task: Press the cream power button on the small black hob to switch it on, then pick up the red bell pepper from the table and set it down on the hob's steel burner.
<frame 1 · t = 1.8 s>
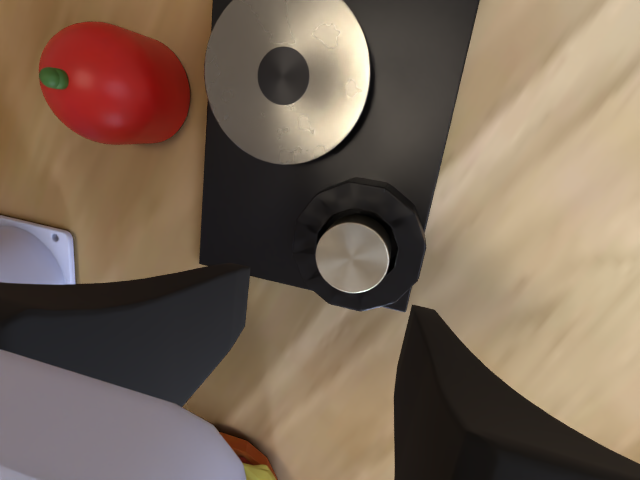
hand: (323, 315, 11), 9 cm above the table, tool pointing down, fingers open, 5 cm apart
pepper: (145, 92, 21), on the table
cheeseburger: (232, 477, 27), on the table
hob button: (354, 252, 17), point 3 cm above the table, slide at 0.1 cm
hob: (320, 139, 19), on the table
burner: (285, 77, 17), resting on hob
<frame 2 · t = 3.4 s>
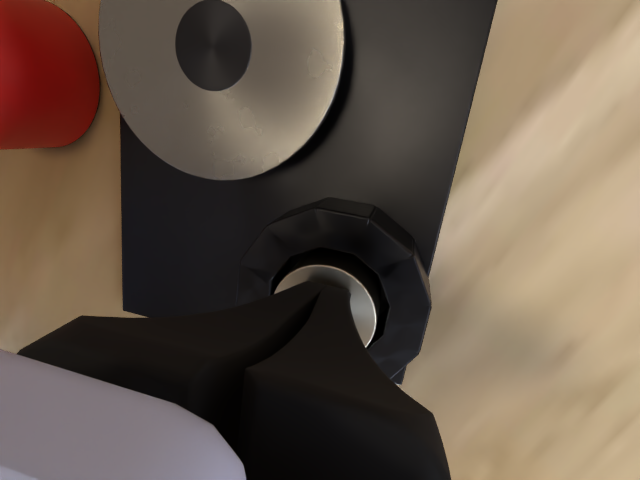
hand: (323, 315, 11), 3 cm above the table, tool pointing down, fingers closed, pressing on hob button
pepper: (41, 76, 15), on the table
hob button: (328, 303, 12), point 2 cm above the table, slide at -0.6 cm, touching gripper
hob: (279, 142, 14), on the table
burner: (217, 48, 11), resting on hob
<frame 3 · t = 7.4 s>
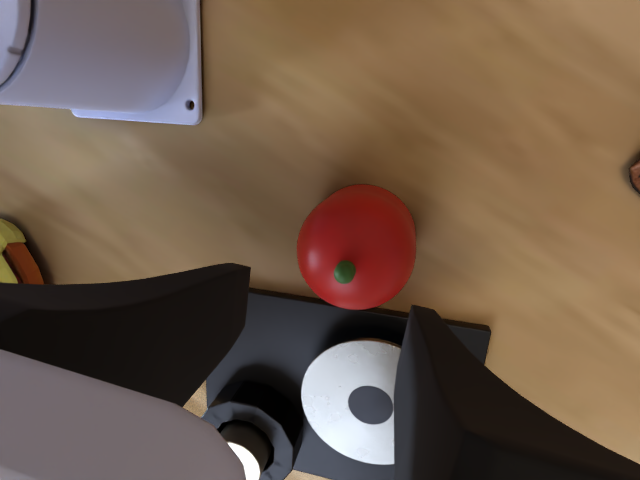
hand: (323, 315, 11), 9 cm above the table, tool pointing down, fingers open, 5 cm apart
pepper: (362, 235, 20), on the table
cheeseburger: (6, 286, 27), on the table
hob button: (239, 453, 22), point 3 cm above the table, slide at 0.1 cm
hob: (330, 391, 23), on the table
burner: (371, 401, 20), resting on hob
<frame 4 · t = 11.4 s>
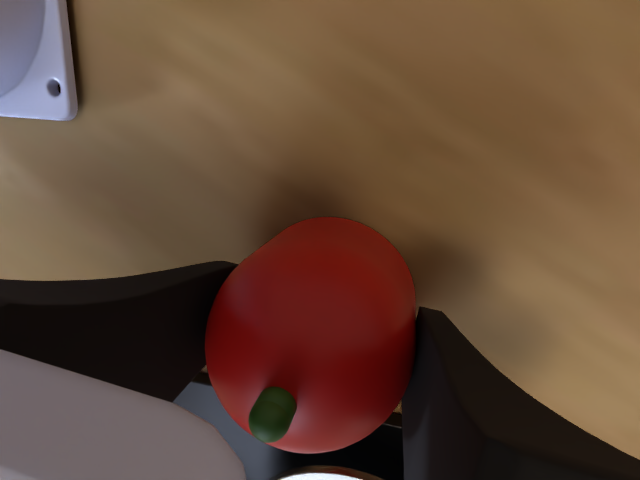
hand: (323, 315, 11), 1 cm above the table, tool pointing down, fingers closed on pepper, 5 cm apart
pepper: (331, 296, 13), on the table, touching gripper
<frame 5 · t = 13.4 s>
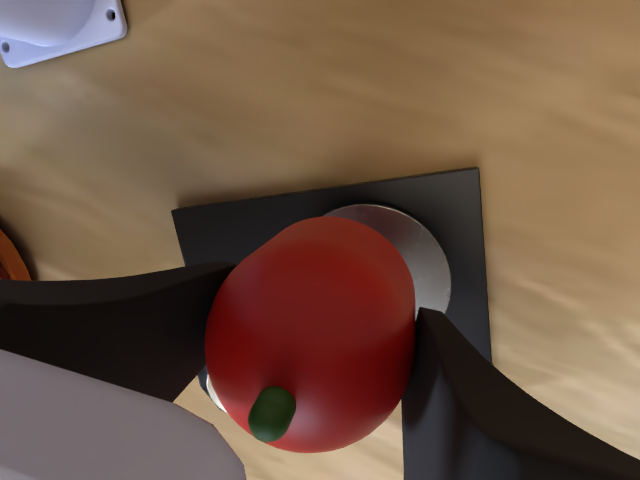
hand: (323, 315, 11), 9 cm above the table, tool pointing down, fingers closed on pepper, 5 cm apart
pepper: (331, 295, 13), point 8 cm above the table, touching gripper
hob button: (242, 379, 20), point 3 cm above the table, slide at 0.1 cm
hob: (329, 297, 21), on the table
burner: (366, 282, 18), resting on hob
when the fingers open (4 cm above the table, at t = 15.6 s): pepper stays where it is, resting on burner.
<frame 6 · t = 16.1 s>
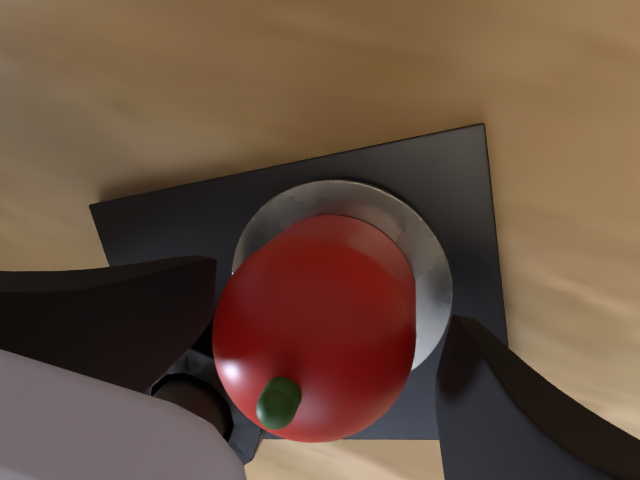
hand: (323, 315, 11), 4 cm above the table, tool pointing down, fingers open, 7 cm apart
pepper: (333, 292, 13), point 2 cm above the table, touching burner
hob button: (182, 423, 15), point 3 cm above the table, slide at 0.1 cm
hob: (295, 309, 16), on the table
burner: (336, 288, 13), resting on hob
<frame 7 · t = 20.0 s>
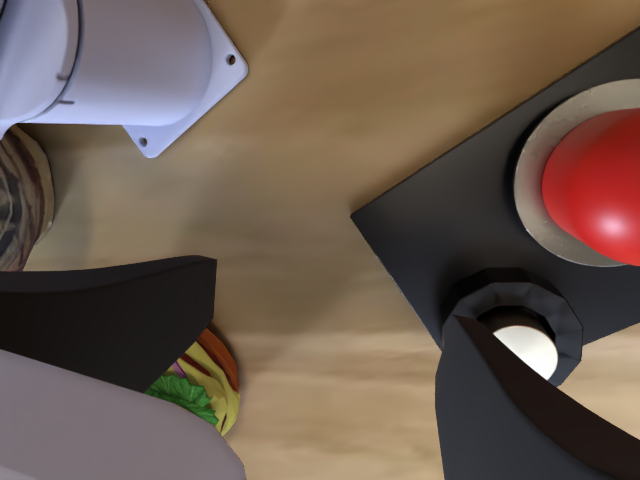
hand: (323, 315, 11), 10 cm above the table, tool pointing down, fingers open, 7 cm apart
pepper: (615, 179, 16), point 2 cm above the table, touching burner
cheeseburger: (187, 371, 27), on the table
ceramic jug: (14, 184, 26), on the table
hob button: (512, 348, 18), point 3 cm above the table, slide at 0.1 cm
hob: (553, 227, 19), on the table
burner: (612, 177, 16), resting on hob
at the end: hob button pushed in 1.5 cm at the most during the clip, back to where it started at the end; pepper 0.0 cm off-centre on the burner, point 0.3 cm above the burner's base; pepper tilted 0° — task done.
